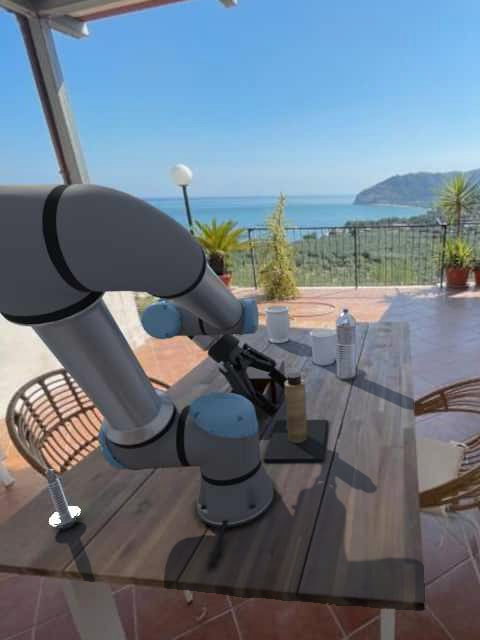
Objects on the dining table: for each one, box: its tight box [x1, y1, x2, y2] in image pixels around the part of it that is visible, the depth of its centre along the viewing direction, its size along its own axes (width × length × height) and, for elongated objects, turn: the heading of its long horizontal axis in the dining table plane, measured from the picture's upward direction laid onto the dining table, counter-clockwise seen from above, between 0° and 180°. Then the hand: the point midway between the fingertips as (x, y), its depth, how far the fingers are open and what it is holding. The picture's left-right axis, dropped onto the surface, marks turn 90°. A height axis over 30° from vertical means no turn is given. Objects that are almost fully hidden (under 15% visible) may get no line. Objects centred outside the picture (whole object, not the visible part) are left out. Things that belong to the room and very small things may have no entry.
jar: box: [264, 305, 291, 344], centre depth 173 cm, size 11×10×15 cm
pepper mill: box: [284, 372, 308, 443], centre depth 99 cm, size 5×5×18 cm
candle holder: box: [309, 328, 336, 366], centre depth 150 cm, size 10×10×12 cm
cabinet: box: [246, 358, 286, 404], centre depth 126 cm, size 16×14×9 cm
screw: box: [44, 468, 81, 530], centre depth 73 cm, size 13×5×5 cm
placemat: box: [263, 419, 328, 463], centre depth 102 cm, size 18×14×1 cm
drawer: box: [227, 381, 274, 420], centre depth 113 cm, size 19×12×7 cm, turn 1°
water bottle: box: [335, 307, 357, 381], centre depth 135 cm, size 7×7×25 cm
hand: (282, 399), depth 98 cm, fingers open, 13 cm apart
